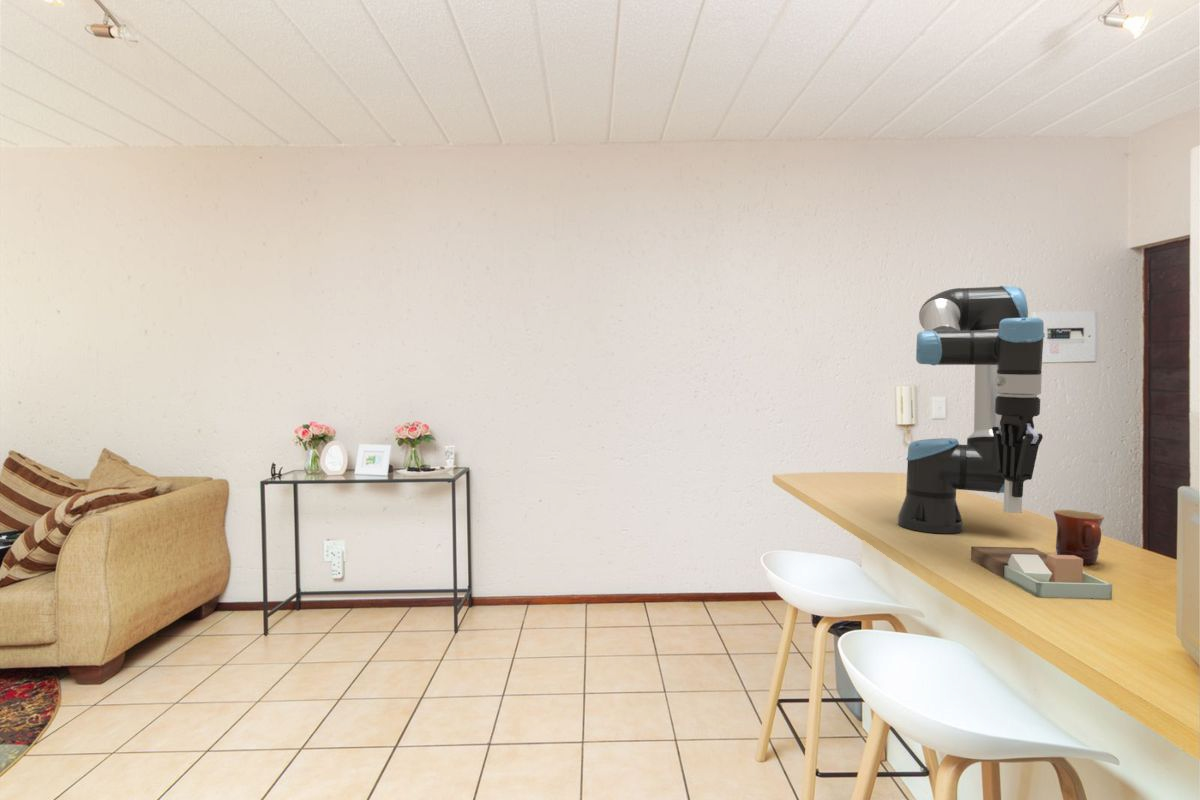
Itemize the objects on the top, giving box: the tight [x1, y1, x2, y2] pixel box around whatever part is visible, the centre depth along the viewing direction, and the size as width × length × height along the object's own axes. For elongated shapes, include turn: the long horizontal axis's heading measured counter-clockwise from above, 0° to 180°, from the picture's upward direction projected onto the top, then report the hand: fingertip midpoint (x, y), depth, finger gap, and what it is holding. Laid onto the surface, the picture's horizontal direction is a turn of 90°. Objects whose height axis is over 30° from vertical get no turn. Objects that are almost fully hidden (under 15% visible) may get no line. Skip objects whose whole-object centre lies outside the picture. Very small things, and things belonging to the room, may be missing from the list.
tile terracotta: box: [1047, 554, 1084, 583], centre depth 122 cm, size 5×5×2 cm
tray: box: [1003, 565, 1113, 600], centre depth 121 cm, size 10×13×3 cm
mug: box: [1053, 509, 1105, 566], centre depth 137 cm, size 12×9×10 cm
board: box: [970, 546, 1049, 579], centre depth 132 cm, size 12×13×3 cm
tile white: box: [1008, 554, 1052, 582], centre depth 123 cm, size 5×5×2 cm
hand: (1012, 511), depth 129 cm, fingers closed
